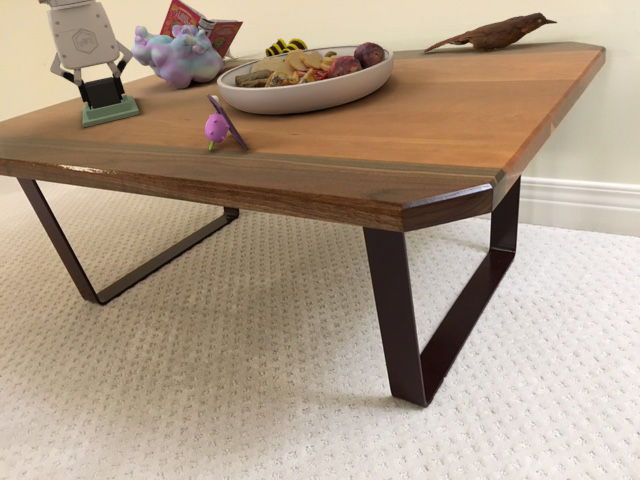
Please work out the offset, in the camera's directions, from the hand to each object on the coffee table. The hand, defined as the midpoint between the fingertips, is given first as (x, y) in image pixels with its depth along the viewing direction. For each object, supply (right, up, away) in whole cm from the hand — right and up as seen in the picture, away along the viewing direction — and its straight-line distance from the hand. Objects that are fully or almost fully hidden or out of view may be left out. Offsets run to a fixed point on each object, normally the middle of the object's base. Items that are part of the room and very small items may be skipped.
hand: (105, 100), depth 102 cm
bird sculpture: (+73, +10, +2) cm, 73 cm away
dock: (0, -1, +3) cm, 3 cm away
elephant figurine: (+15, +18, +34) cm, 41 cm away
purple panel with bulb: (+27, -13, -27) cm, 41 cm away
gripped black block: (0, 0, 0) cm, 0 cm away
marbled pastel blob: (+12, +10, +20) cm, 25 cm away
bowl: (+39, -1, -8) cm, 39 cm away
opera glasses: (+33, +14, +22) cm, 42 cm away
